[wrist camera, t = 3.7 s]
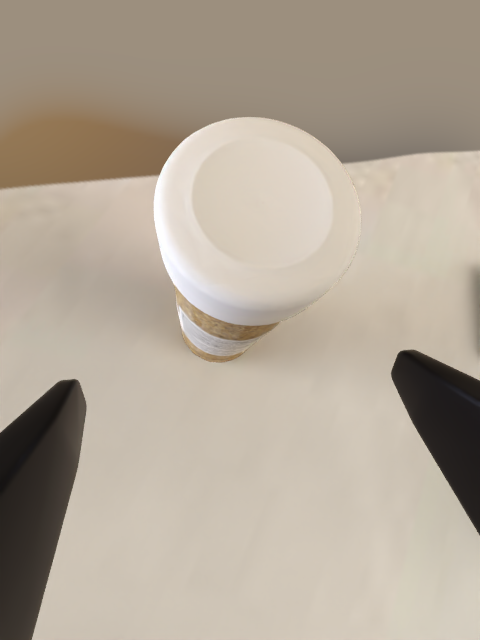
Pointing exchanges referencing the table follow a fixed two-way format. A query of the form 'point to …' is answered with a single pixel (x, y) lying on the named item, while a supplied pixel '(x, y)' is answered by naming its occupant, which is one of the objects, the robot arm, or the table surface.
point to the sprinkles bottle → (251, 230)
